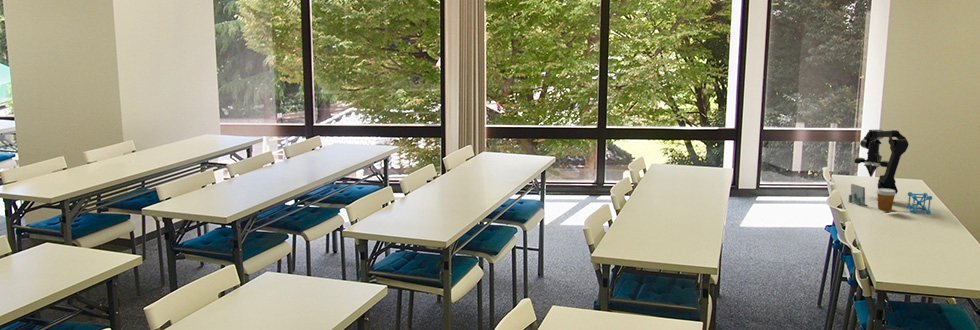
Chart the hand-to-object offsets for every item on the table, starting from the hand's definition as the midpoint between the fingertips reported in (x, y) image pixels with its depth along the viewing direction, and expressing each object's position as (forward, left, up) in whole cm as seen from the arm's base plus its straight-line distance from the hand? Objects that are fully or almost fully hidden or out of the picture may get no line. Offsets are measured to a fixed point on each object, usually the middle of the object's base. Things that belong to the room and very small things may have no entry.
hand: (871, 176), depth 460 cm
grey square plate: (-5, +28, -11) cm, 31 cm away
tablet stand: (-5, +27, -12) cm, 30 cm away
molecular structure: (-33, +19, -12) cm, 40 cm away
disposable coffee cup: (-20, +32, -12) cm, 40 cm away
